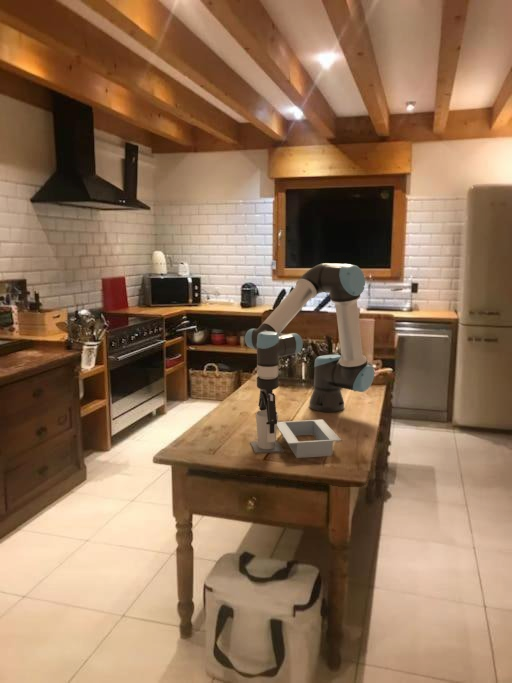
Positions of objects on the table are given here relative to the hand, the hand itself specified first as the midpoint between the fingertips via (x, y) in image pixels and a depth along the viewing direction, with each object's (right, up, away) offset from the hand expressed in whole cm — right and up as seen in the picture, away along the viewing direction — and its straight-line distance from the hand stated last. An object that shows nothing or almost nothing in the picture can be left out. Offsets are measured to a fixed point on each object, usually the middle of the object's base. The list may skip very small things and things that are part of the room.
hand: (267, 434), depth 197 cm
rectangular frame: (+14, -4, +3) cm, 15 cm away
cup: (0, -4, +1) cm, 4 cm away
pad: (0, -5, +1) cm, 5 cm away
